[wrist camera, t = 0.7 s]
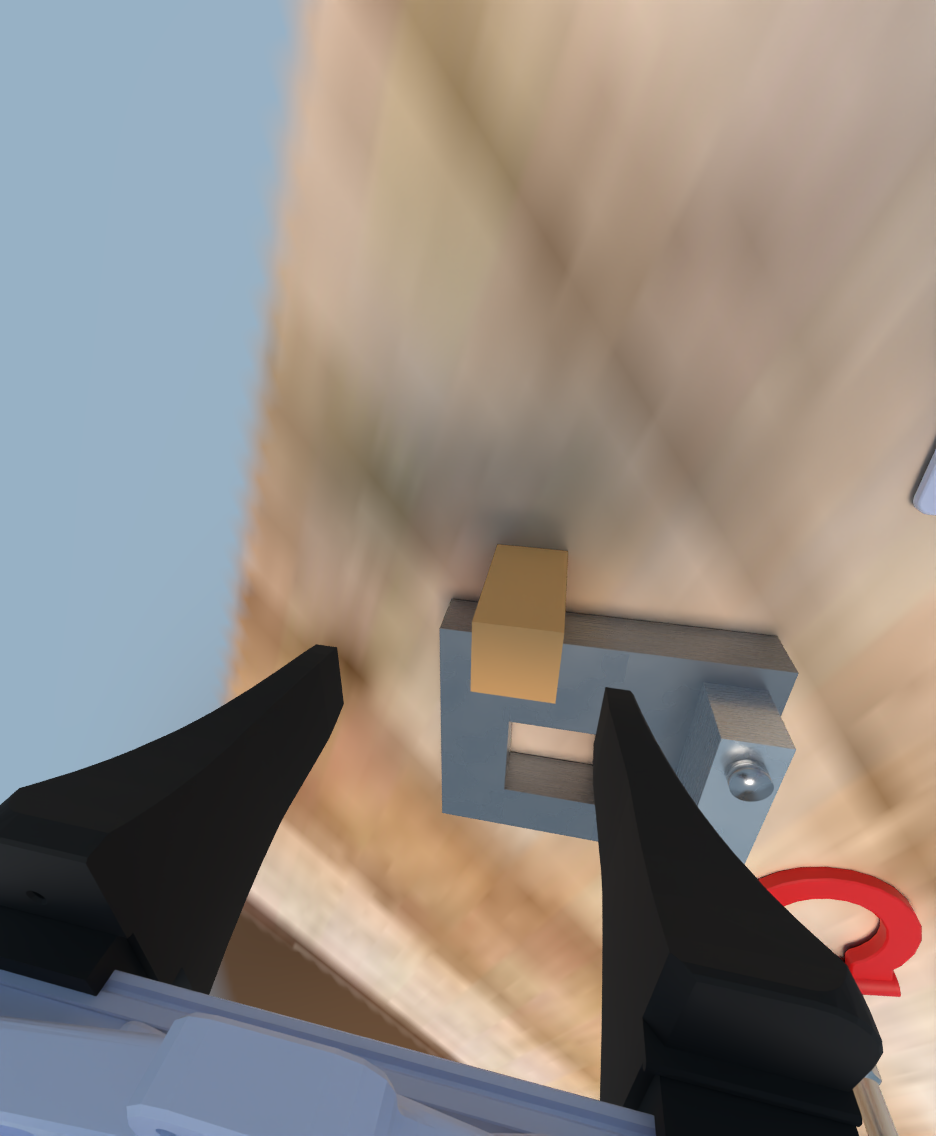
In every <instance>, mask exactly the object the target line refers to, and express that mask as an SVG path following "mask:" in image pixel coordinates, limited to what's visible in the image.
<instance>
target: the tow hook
mask: <svg viewBox="0 0 936 1136" xmlns="http://www.w3.org/2000/svg"><path fill="white" fill-rule="evenodd" d="M758 880H759V881H760V882H761V884H762V885H763V886H764V887H765V888H766V889H767V890H768V891H769V892H770V893H771V894H772V895H773V896H774V897H775V898H776V899H777V900H778V901H779V902H780V903H781V904H782V905H783V906H786V905H789V904H791V903H794V902H797V901H803V900H809V899H835V900H842V901H848V902H851V903H854V904H857V905H860V906H862V907H864V908H866V909H868V910H870V911H872V912H873V913H874V914H875V915H876V916H877V917H879V918H880V927H879V929H878V931H877V933H876V934H875V935H874V936H873V937H872V938H871V939H870V940H869V941H867V942H865V943H864V944H862V945H860V946H857V947H854V948H851V949H848V950H847V951H846V952H845V962H844V963H845V964H846V965H847V966H848V968H849V970H850V972H851V974H852V976H853V978H854V980H855V982H856V983H857V985H858V987H859V989H860V991H861V993H862V995H878V996H894V997H900V996H901V992H900V987H899V983H898V980H897V978H896V975H895V973H894V971H893V970H894V969H896V968H898V967H900V966H902V965H903V964H904V963H905V962H906V961H907V960H908V959H910V958H911V957H912V956H913V955H914V954H915V953H916V951H917V949H918V947H919V945H920V943H921V941H922V926H921V924H920V922H919V920H918V918H917V916H916V914H915V913H914V911H913V909H912V907H911V905H910V904H909V902H908V900H907V899H906V898H905V897H904V896H903V895H902V894H900V893H899V892H898V891H897V890H896V889H895V888H894V887H892V886H891V885H889V884H887V883H885V882H883V881H881V880H879V879H877V878H876V877H873V876H870V875H866V874H863V873H860V872H856V871H853V870H847V869H839V868H831V867H800V868H795V869H789V870H784V871H779V872H776V873H773V874H771V875H768V876H766V877H763V878H761V879H758ZM881 1082H882V1079H881V1076H880V1073H879V1071H878V1068H877V1066H876V1065H875V1067H874V1068H873V1069H872V1070H871V1071H870V1072H869V1073H868V1074H867V1075H866V1076H865V1077H864V1078H863V1079H862V1080H861V1081H860V1082H859V1083H858V1084H857V1085H856V1086H855V1087H854V1088H853V1092H854V1095H855V1098H856V1100H857V1103H858V1106H859V1109H860V1112H861V1115H862V1119H863V1122H864V1125H865V1128H866V1131H867V1133H868V1136H898V1133H897V1131H896V1128H895V1126H894V1123H893V1120H892V1118H891V1115H890V1113H889V1110H888V1108H887V1105H886V1103H885V1100H884V1097H883V1095H882V1092H881V1090H880V1087H879V1085H880V1084H881Z"/></svg>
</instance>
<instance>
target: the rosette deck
mask: <svg viewBox="0 0 936 1136" xmlns="http://www.w3.org/2000/svg"><path fill="white" fill-rule="evenodd" d="M477 605H478V602H474V601H465V600H457V599H452V600H451V602H450V605H449V607H448V610H447V612H446V614H445V617H444V619H443V622H442V624H441V626H440V685H441V753H442V813H446V814H452V815H457V816H462V817H468V818H473V819H479V820H484V821H490V822H495V823H500V824H506V825H511V826H517V827H522V828H528V829H533V830H538V831H544V832H549V833H555V834H560V835H566V836H571V837H576V838H582V839H587V840H593V841H598V833H597V822H596V812H595V801H594V790H593V765H588V764H582V763H576V762H570V761H563V760H557V759H551V758H545V757H539V756H532V755H526V754H520V753H514V752H510V743H511V730H512V722H516V723H523V724H529V725H536V726H543V727H549V728H556V729H562V730H569V731H576V732H582V733H589V734H595V735H596V731H597V726H598V721H599V716H600V711H601V706H602V701H603V696H604V691H605V687H609V688H616V689H623V690H630V691H631V692H632V693H633V694H634V696H635V699H636V701H637V703H638V706H639V708H640V710H641V712H642V714H643V716H644V718H645V720H646V722H647V724H648V726H649V728H650V730H651V732H652V734H653V736H654V738H655V739H656V741H657V743H658V745H659V746H660V748H661V750H662V752H663V753H664V755H665V757H666V759H667V760H668V762H669V764H670V765H671V767H672V769H673V770H674V772H675V773H676V775H677V777H678V778H679V780H680V781H681V783H682V784H683V786H684V787H685V789H686V790H687V792H688V793H689V795H690V796H691V798H692V799H693V801H694V802H695V803H696V805H697V806H698V808H699V809H700V810H701V812H702V813H703V815H704V816H705V817H706V818H707V820H708V821H709V822H710V824H711V825H712V826H713V828H714V829H715V830H716V832H717V833H718V834H719V835H720V836H721V838H722V839H723V840H724V841H725V843H726V844H727V845H728V846H729V848H730V849H731V850H732V851H733V852H734V854H735V855H736V856H737V857H738V858H739V859H740V860H741V861H742V862H743V864H745V862H746V860H747V857H748V855H749V853H750V851H751V849H752V846H753V844H754V842H755V840H756V838H757V835H758V833H759V831H760V829H761V826H762V824H763V822H764V820H765V818H766V815H767V813H768V811H769V809H770V806H771V804H772V802H773V800H774V798H775V795H776V793H777V791H778V789H779V787H780V784H781V782H782V780H783V778H784V775H785V773H786V771H787V769H788V767H789V764H790V762H791V760H792V758H793V756H794V753H795V751H796V748H795V746H794V744H793V742H792V740H791V738H790V735H789V733H788V731H787V729H786V727H785V725H784V723H783V721H782V719H781V714H782V712H783V710H784V707H785V705H786V702H787V700H788V697H789V695H790V693H791V690H792V688H793V685H794V683H795V680H796V678H797V676H798V671H797V670H796V668H795V666H794V664H793V663H792V661H791V659H790V657H789V656H788V654H787V652H786V650H785V649H784V647H783V645H782V644H781V642H780V640H779V638H778V637H777V636H770V635H761V634H752V633H744V632H735V631H726V630H718V629H709V628H700V627H691V626H683V625H674V624H665V623H657V622H648V621H639V620H631V619H622V618H613V617H604V616H596V615H587V614H578V613H570V612H565V629H564V639H563V647H562V655H561V663H560V671H559V679H558V686H557V694H556V702H555V704H554V703H548V702H541V701H534V700H527V699H520V698H513V697H506V696H499V695H492V694H485V693H478V692H471V691H470V690H471V645H472V620H473V617H474V614H475V611H476V608H477Z"/></svg>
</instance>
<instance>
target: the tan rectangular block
mask: <svg viewBox="0 0 936 1136" xmlns="http://www.w3.org/2000/svg"><path fill="white" fill-rule="evenodd" d="M567 564H568V551H562V550H552V549H542V548H531V547H521V546H510V545H500V544H497V547H496V550H495V553H494V556H493V559H492V563H491V566H490V569H489V572H488V575H487V578H486V581H485V584H484V587H483V590H482V593H481V596H480V599H479V602H478V605H477V608H476V611H475V614H474V617H473V620H472V645H471V690H470V691H471V692H478V693H485V694H492V695H499V696H506V697H513V698H520V699H527V700H534V701H541V702H548V703H554V704H555V702H556V694H557V686H558V679H559V671H560V663H561V655H562V647H563V639H564V629H565V607H566V586H567Z"/></svg>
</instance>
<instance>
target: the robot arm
mask: <svg viewBox="0 0 936 1136" xmlns="http://www.w3.org/2000/svg"><path fill="white" fill-rule="evenodd" d="M913 504H914V507H915V508H916V509H918V510H919V511H920V512H922V513H924V514H928V515H936V450H935V452H934V454H933V456H932V459H931V461H930V463H929V465H928V467H927V470H926V472H925V474H924V476H923V478H922V481H921V483H920V485H919V487H918V489H917V492H916V494H915V496H914V499H913ZM343 704H344V702H343V693H342V685H341V677H340V668H339V660H338V652H337V647H330V646H324V645H317V644H316V645H315V646H313V647H312V648H310V649H308V650H307V651H305V652H304V653H303V654H301V655H300V656H298V657H297V658H295V659H294V660H292V661H291V662H289V663H288V664H287V665H285V666H284V667H282V668H281V669H279V670H278V671H276V672H275V673H273V674H272V675H270V676H269V677H267V678H266V679H264V680H263V681H261V682H260V683H258V684H257V685H255V686H254V687H252V688H251V689H249V690H248V691H246V692H244V693H243V694H241V695H239V696H238V697H236V698H235V699H233V700H231V701H230V702H228V703H226V704H225V705H223V706H221V707H220V708H218V709H216V710H215V711H213V712H211V713H209V714H207V715H206V716H204V717H202V718H200V719H198V720H196V721H194V722H192V723H191V724H188V725H187V726H185V727H183V728H181V729H179V730H177V731H175V732H172V733H170V734H168V735H166V736H163V737H161V738H159V739H157V740H155V741H152V742H150V743H148V744H145V745H143V746H141V747H139V748H137V749H134V750H132V751H129V752H127V753H124V754H122V755H119V756H117V757H114V758H112V759H109V760H106V761H103V762H101V763H98V764H95V765H92V766H89V767H87V768H84V769H81V770H78V771H75V772H72V773H68V774H65V775H62V776H59V777H55V778H52V779H49V780H46V781H42V782H40V783H36V784H32V785H29V786H26V787H22V788H19V789H18V790H17V791H16V792H14V793H13V794H12V795H11V796H10V797H9V798H8V799H7V800H5V801H4V802H3V803H2V804H1V805H0V1136H859V1134H858V1131H857V1128H856V1126H857V1127H860V1126H861V1125H862V1115H861V1112H860V1109H859V1106H858V1103H857V1100H856V1098H855V1095H854V1092H853V1088H854V1087H855V1086H856V1085H857V1084H858V1083H859V1082H860V1081H861V1080H862V1079H863V1078H864V1077H865V1076H866V1075H867V1074H868V1073H869V1072H870V1071H871V1070H872V1069H873V1068H874V1067H875V1065H876V1064H877V1062H878V1060H879V1059H880V1057H881V1055H882V1054H883V1046H882V1039H881V1037H880V1035H879V1032H878V1030H877V1027H876V1025H875V1022H874V1020H873V1017H872V1015H871V1012H870V1010H869V1008H868V1006H867V1004H866V1001H865V999H864V997H863V995H862V993H861V991H860V989H859V987H858V985H857V983H856V982H855V980H854V978H853V976H852V974H851V972H850V970H849V968H848V966H847V965H846V964H845V963H844V962H843V961H842V960H841V959H840V958H839V957H838V956H836V955H835V954H834V953H833V952H832V951H831V950H830V949H829V948H828V947H827V946H825V945H824V944H823V943H822V942H821V941H820V940H819V939H818V938H817V937H816V936H814V935H813V934H812V933H811V932H810V931H809V930H808V929H807V928H806V927H805V926H803V925H802V924H801V923H800V922H799V921H798V920H797V919H796V918H795V917H794V916H793V915H792V914H791V913H790V912H789V911H788V910H787V909H786V908H785V907H784V906H783V905H782V904H781V903H780V902H779V901H778V900H777V899H776V898H775V897H774V896H773V895H772V894H771V893H770V892H769V891H768V890H767V889H766V888H765V887H764V886H763V885H762V884H761V882H760V881H759V880H758V879H757V878H756V877H755V876H754V875H753V874H752V872H751V871H750V870H749V869H748V868H747V867H746V866H745V865H744V864H743V862H742V861H741V860H740V859H739V858H738V857H737V856H736V855H735V854H734V852H733V851H732V850H731V849H730V848H729V846H728V845H727V844H726V843H725V841H724V840H723V839H722V838H721V836H720V835H719V834H718V833H717V832H716V830H715V829H714V828H713V826H712V825H711V824H710V822H709V821H708V820H707V818H706V817H705V816H704V815H703V813H702V812H701V810H700V809H699V808H698V806H697V805H696V803H695V802H694V801H693V799H692V798H691V796H690V795H689V793H688V792H687V790H686V789H685V787H684V786H683V784H682V783H681V781H680V780H679V778H678V777H677V775H676V773H675V772H674V770H673V769H672V767H671V765H670V764H669V762H668V760H667V759H666V757H665V755H664V753H663V752H662V750H661V748H660V746H659V745H658V743H657V741H656V739H655V738H654V736H653V734H652V732H651V730H650V728H649V726H648V724H647V722H646V720H645V718H644V716H643V714H642V712H641V710H640V708H639V706H638V703H637V701H636V699H635V696H634V694H633V693H632V692H631V691H630V690H623V689H616V688H609V687H605V691H604V696H603V701H602V706H601V711H600V716H599V721H598V726H597V731H596V736H595V741H594V751H593V790H594V801H595V812H596V822H597V833H598V843H599V853H600V864H601V876H602V919H603V949H602V1039H601V1080H600V1101H599V1100H595V1099H591V1098H588V1097H584V1096H580V1095H577V1094H573V1093H569V1092H566V1091H562V1090H558V1089H554V1088H551V1087H547V1086H543V1085H540V1084H536V1083H532V1082H529V1081H525V1080H521V1079H517V1078H514V1077H510V1076H506V1075H503V1074H499V1073H495V1072H492V1071H488V1070H484V1069H480V1068H477V1067H473V1066H469V1065H466V1064H462V1063H458V1062H455V1061H451V1060H447V1059H444V1058H440V1057H436V1056H432V1055H429V1054H425V1053H421V1052H418V1051H414V1050H410V1049H407V1048H402V1047H399V1046H395V1045H392V1044H388V1043H384V1042H380V1041H377V1040H373V1039H370V1038H366V1037H362V1036H358V1035H355V1034H351V1033H347V1032H344V1031H340V1030H336V1029H333V1028H329V1027H325V1026H321V1025H318V1024H314V1023H310V1022H307V1021H303V1020H299V1019H296V1018H292V1017H288V1016H284V1015H281V1014H277V1013H273V1012H270V1011H266V1010H262V1009H258V1008H255V1007H251V1006H247V1005H244V1004H240V1003H236V1002H232V1001H229V1000H225V999H221V998H218V997H214V996H210V995H209V993H210V991H211V988H212V985H213V982H214V980H215V977H216V975H217V972H218V969H219V967H220V964H221V961H222V959H223V956H224V953H225V951H226V948H227V945H228V943H229V940H230V938H231V935H232V933H233V930H234V928H235V925H236V923H237V921H238V918H239V916H240V913H241V911H242V908H243V906H244V903H245V901H246V898H247V896H248V894H249V891H250V889H251V887H252V885H253V882H254V880H255V878H256V875H257V873H258V871H259V868H260V866H261V864H262V862H263V859H264V857H265V855H266V853H267V851H268V849H269V846H270V844H271V842H272V840H273V838H274V836H275V833H276V831H277V829H278V827H279V825H280V823H281V821H282V819H283V817H284V815H285V814H286V812H287V810H288V808H289V806H290V805H291V803H292V801H293V799H294V798H295V796H296V794H297V793H298V791H299V789H300V788H301V786H302V784H303V782H304V781H305V779H306V777H307V776H308V774H309V772H310V771H311V769H312V767H313V765H314V764H315V762H316V760H317V759H318V757H319V755H320V753H321V752H322V750H323V748H324V746H325V745H326V743H327V741H328V739H329V737H330V735H331V733H332V731H333V729H334V726H335V724H336V722H337V719H338V717H339V714H340V712H341V709H342V707H343Z"/></svg>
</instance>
